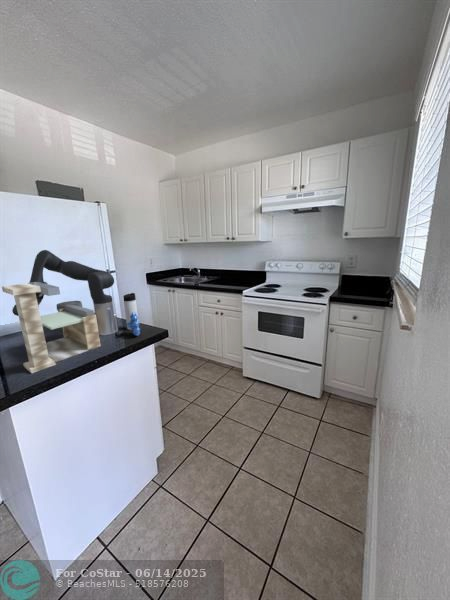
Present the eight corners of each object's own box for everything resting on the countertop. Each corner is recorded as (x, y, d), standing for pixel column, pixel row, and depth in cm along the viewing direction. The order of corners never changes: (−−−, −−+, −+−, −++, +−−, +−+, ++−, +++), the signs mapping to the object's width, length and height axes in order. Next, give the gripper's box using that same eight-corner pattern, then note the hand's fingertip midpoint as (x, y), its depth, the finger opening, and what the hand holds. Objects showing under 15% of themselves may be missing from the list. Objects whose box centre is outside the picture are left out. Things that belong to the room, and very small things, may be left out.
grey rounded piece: (82, 323, 149) (79, 299, 145) (88, 327, 140) (84, 303, 136) (58, 328, 141) (54, 303, 137) (62, 333, 131) (57, 307, 128)
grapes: (125, 333, 130) (123, 311, 127) (138, 330, 133) (136, 309, 130) (129, 340, 120) (126, 317, 117) (143, 337, 123) (140, 314, 121)
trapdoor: (72, 311, 125) (70, 303, 124) (94, 318, 111) (93, 310, 110) (31, 320, 111) (29, 311, 110) (51, 329, 97) (49, 320, 96)
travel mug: (141, 326, 139) (138, 293, 135) (134, 330, 133) (129, 295, 128) (132, 326, 141) (128, 292, 137) (124, 329, 135) (120, 295, 130)
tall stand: (43, 356, 105) (27, 283, 97) (55, 364, 96) (39, 286, 89) (20, 363, 98) (1, 286, 91) (31, 373, 90) (12, 289, 83)
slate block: (39, 288, 112) (38, 281, 112) (60, 294, 98) (58, 287, 98) (28, 289, 109) (27, 283, 108) (48, 296, 95) (47, 288, 95)
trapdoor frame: (75, 335, 129) (70, 307, 125) (100, 346, 113) (95, 314, 110) (33, 347, 114) (26, 316, 111) (56, 361, 99) (48, 326, 95)
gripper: (10, 294, 110) (16, 278, 100) (46, 289, 122) (55, 274, 111) (15, 309, 110) (22, 294, 99) (51, 303, 121) (60, 289, 110)
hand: (39, 284), depth 105 cm, fingers closed on slate block, 4 cm apart
